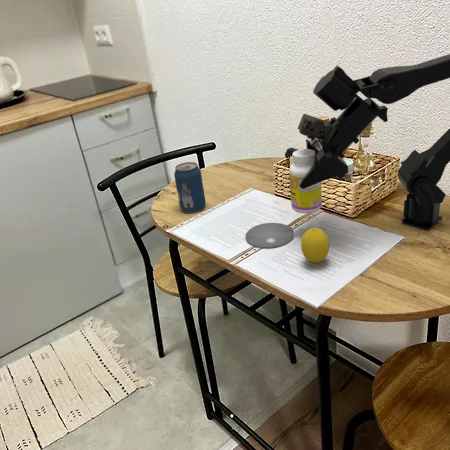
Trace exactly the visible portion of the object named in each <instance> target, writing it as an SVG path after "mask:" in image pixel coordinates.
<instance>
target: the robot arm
mask: <svg viewBox="0 0 450 450" xmlns="http://www.w3.org/2000/svg"><path fill="white" fill-rule="evenodd" d="M448 79H450V53H449V54H445V55H442V56H439V57H436V58H433V59H430V60H425V61H423V62H421V63H417V64H412V65H402V66H401V65H400V66H399V65H397V66H389V67H382V68H378V69H376V70H375V71H373V72H372V73H371V75H368V76H366V77H365V76H364V77H362V78H358V79H354V80H353V79H352V77H350V76H349V75H348V74H347V73H346V72H345V70H344V69H343V68H341V67H340V65H336V66H335V67H334V68H333V69H331V70H330V71H328V72H327V73H326V74H325V75H323V76H322V77H321V78H320V79H319V80H318V82H317V83H316V84H315V86H314V88H313V91H312V93H313V94H314V95H315V97H316V98H318V99H320V100H321V101H322V102H323V103H324V104H326V105H327V106H328V107H329V108H330V109H331V110H332V111H334V112H337V111H342V112H341V114H339V116H338V117H337V118H336V117H331V118H330V119H329V120H328V121H327V120H324V119H322V118H319V117H316V116H313V115H310V114H306V113H303V114H302V116H301V119H300V121H299V124H298V126H297V130H298V131H299V134H301V135H302V136H305V137H306V139H305V144H306V145H305V147H306V149H311V150H314V151H315V156H314V155H313V166H312V167H311V169H310V170H309V172H308V173H307V174H306V176H305V177H304V179H303V180H302V182H301V183H300V185H299V186H300V187H301V188H302V189H304V188H307V187H309V186H312V185H314V184H317V183H319V182H321V183H322V182H324V181H327V179H330V178H333V177H334V178H333V179H336V178H338V179H339V180H343V179H344V178H345V177H346V176H347V174H349V166H348V164H347V162H346V161H345V160H344V158H345V157H346V154H345V152H346V150H348V149H349V147H350V146H351V145H352V144H355V145H357V144H358V143H359V142H360V139H359V137H360V136H361V134H363V133H364V131H366V130H367V128H368V127H369V126H370V125H371V124H372V123H373V122H374V121H375V120H376V119H377V117H378V118H379V119H380V120H381V121H382V122H384V123H388V121H389V119H388V110H389V108H388V107H387V106H386V105H392V104H395V103H397V102H399V101H401V100H403V99H405V98H408V97H409V96H411V94H413V93H415V92H416V91H417V90H419V89H421V88H422V87H426V86H428V85H432V84H434V83H438V82H441V81H445V80H448ZM359 92H360V93H361V95H363V96H364V97H365V99H363V98H362V97H361V96H359V94H358V93H359ZM373 99H374V100H375V99H376V100H377V101H379V102H380V103H382V104H384V105H379V104H378V103H376V101H374V100H373ZM449 163H450V127H449V128H448V129H447V130H446V131H445V132H444V133H443V134H442V135H441V137H440V138H439V139H437V141H435V143H433V144H432V146H430V147H429V148H428V149H426V150H424V151H422V152H420V153H419V151H418V150H417V149H414V150H413V151H411V153H410V154H409V155H408V156H407V157H406V159H404V160H402V161H401V162H400V165H401V166H400V167H399V169H398V170H397V179H398V181H399V182H400V184H401V185H402V186H403V187H404V188H405V190H406V191H407V192H408V194H406V198H405V199H404V201H403V215H402V216H403V218H402V220H401V223H402V224H405V225H408V226H412V227H416V228H419V229H423V230H428V231H430V230H431V229H433V227H435V226H436V225H437V224H438V223H440V221H441V220H443V216H441V215H440V210H441V204H442V203H443V201H444V200H445V197H446V196H447V195H446V193H445V192H444V190H443V189H441V188H440V186H439V185H438V183H439V182H440V181H441V179H442V177H443V175H444V172H445V169H446V167H447V165H448V164H449ZM330 180H331V179H330Z"/></svg>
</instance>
